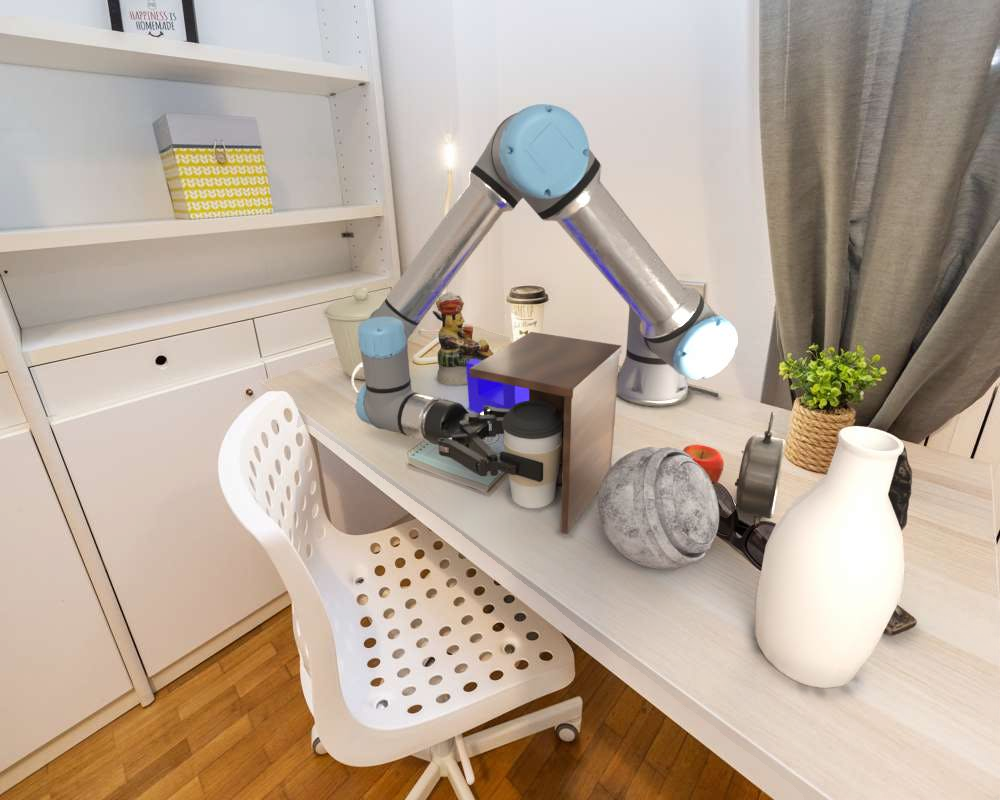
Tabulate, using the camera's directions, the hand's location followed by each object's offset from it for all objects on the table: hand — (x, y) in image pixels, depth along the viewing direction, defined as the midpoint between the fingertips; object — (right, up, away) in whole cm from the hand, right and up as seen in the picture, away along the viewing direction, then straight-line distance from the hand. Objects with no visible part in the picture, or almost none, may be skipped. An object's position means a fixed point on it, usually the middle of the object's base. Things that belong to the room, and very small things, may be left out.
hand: (558, 454), depth 74 cm
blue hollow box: (-3, +7, +36) cm, 36 cm away
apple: (+22, -7, +5) cm, 23 cm away
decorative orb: (+11, -12, -6) cm, 18 cm away
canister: (-40, +15, +54) cm, 69 cm away
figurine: (-17, +13, +50) cm, 54 cm away
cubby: (-1, -6, +7) cm, 9 cm away
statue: (+33, -16, -16) cm, 40 cm away
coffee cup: (-3, -7, +6) cm, 10 cm away
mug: (-34, +7, +37) cm, 50 cm away
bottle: (+23, -18, -20) cm, 36 cm away
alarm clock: (+28, -9, 0) cm, 29 cm away
